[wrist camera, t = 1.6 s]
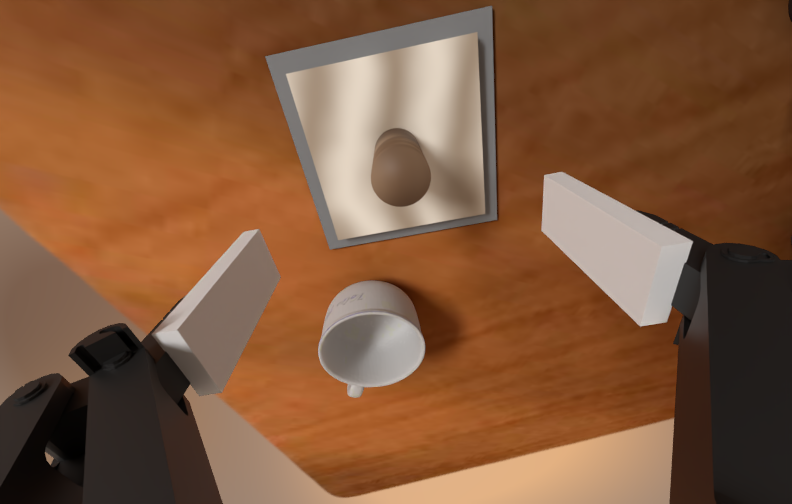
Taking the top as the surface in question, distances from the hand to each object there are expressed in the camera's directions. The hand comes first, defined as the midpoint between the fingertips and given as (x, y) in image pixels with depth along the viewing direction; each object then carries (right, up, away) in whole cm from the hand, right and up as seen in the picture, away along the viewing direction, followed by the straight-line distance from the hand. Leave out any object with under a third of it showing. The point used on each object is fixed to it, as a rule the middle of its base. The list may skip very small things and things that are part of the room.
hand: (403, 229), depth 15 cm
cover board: (0, +8, +14) cm, 16 cm away
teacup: (-4, -9, +25) cm, 26 cm away
